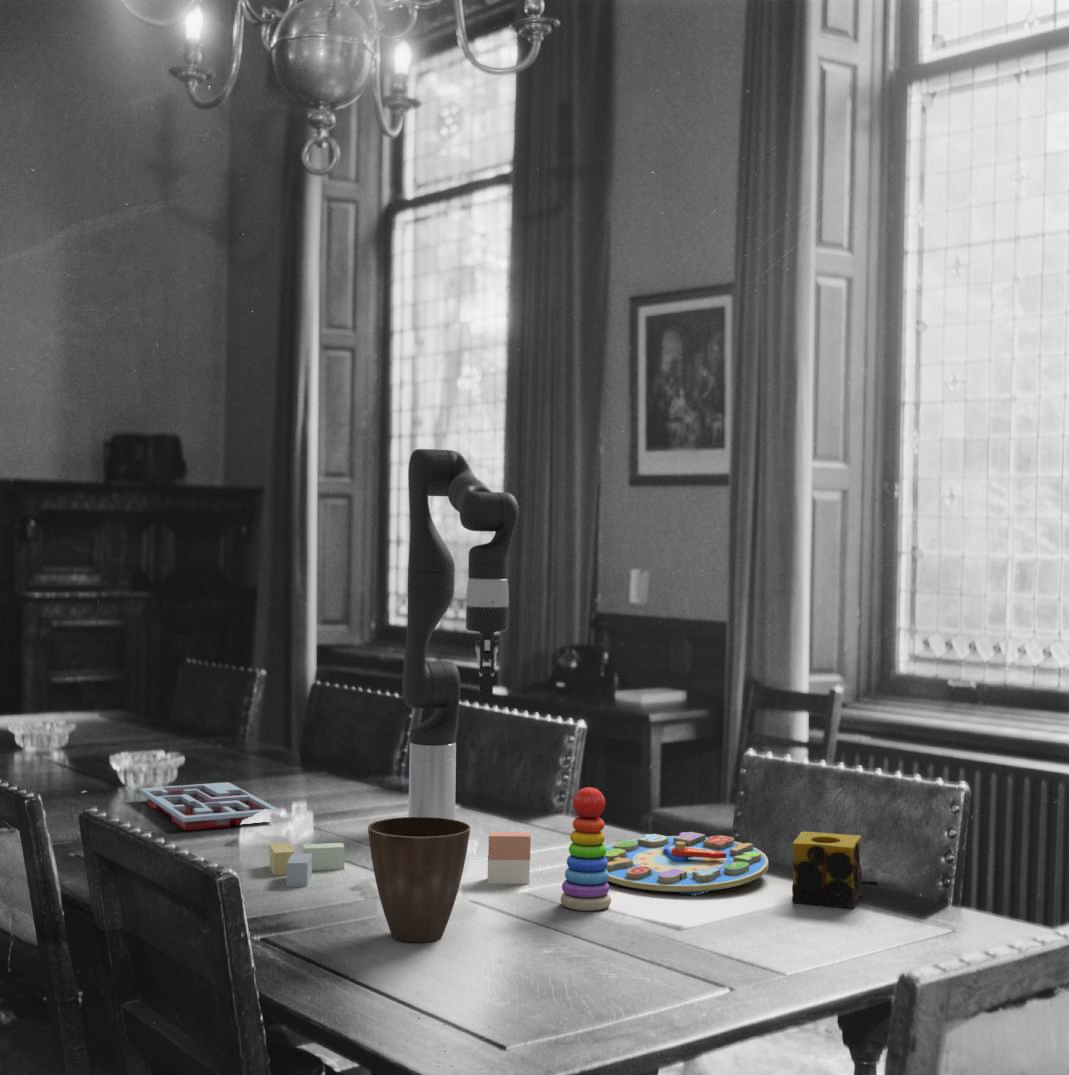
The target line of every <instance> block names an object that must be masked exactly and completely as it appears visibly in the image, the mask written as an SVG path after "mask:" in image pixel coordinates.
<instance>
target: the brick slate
mask: <svg viewBox="0 0 1069 1075" xmlns="http://www.w3.org/2000/svg"><path fill="white" fill-rule="evenodd" d="M312 872H313V870H312V854H303V853H294V854H291V856H290V858H289V860H288V862H287V875H286V887H299V888H300V887H308V885H309V883H310V880H311V879H312V876H313V873H312Z"/></svg>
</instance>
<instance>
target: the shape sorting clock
mask: <svg viewBox="0 0 1069 1075" xmlns="http://www.w3.org/2000/svg"><path fill="white" fill-rule="evenodd" d="M606 849H607V851H606V854H605V856H604V857H605V858H606V859H607V862H608V865H607V867H606V868H605V869H607V871H608V873H609V878H608V880H607V881H606V882H609V883H612V884H616V885H619V886H623V887H628V888H633V889H641V890H648V891H658V892H675V893H678V892H682V893H681V894H683V893H685V894H684V895H687V894H691V895H690V896H692V895H695V894H699V893H702V892H706V891H709V890H712V891H715V890H721V889H729V888H733V887H738V886H741V885H744V884H748V883H750V882H753V881H755V880H757V879H759V878H761V877H762V876H764V875H765V874H766V872H768V870H769V859H768V856H767V855H766V854H765V853H764V852H763V851H761V850H760V849H758V848H756V847H754V844H753V843H750V842H744V843H742V842H739V841H735V838H734V837H732V836H728V835H727V836H726V835H720V834H719V835H711V836H708V837H707V836H706V834H704V833H700V832H694V831H688V832H687V831H686V832H685V831H682V832H680V833H679V834H678V835H670V836H669V835H668V836H666V835H662V834H658V833H652V834H649V833H647V834H643V835H642V837H640V838H635V839H630V840H625V841H620V842H616V843H613V844H610V845H607V846H606ZM709 892H710V891H709ZM706 893H707V892H706ZM702 894H703V893H702ZM699 895H700V894H699Z"/></svg>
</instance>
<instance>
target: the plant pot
mask: <svg viewBox="0 0 1069 1075" xmlns="http://www.w3.org/2000/svg"><path fill="white" fill-rule="evenodd" d="M367 830H368V840H369V842H368V843H369V849H370V855H371V856H370V857H371V862H372V868H373V873H374V874H373V875H374V878H375V883H376V888H377V891H378V896H379V900H380V903H381V907H382V910H383V913H384V918H385V921H386V922H387V926H388V928H389V931H390V933H391V936H392V938H393V939H395V940H397V941H400V942H406V943H429V942H434V941H437V940H439V939H441V938H442V937H443V935H444V933H445V931H446V927H447V925H448V922H449V920H450V918H451V914H452V912H453V909H454V905H455V902H456V899H457V895H458V892H459V888H460V884H461V882H462V877H463V872H464V867H465V863H466V859H467V854H468V853H467V852H468V846H469V841H470V840H469V839H470V833H471V826H470V825H469V823H466V822H465V821H460V820H456V819H455V820H452V819H445V818H434V817H409V816H406V817H404V816H403V817H402V816H401V817H394V818H385V819H381V820H380V819H379V820H376V821H374V822H371V823H370V824H369V825H368V826H367ZM428 941H429V942H428Z"/></svg>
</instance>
